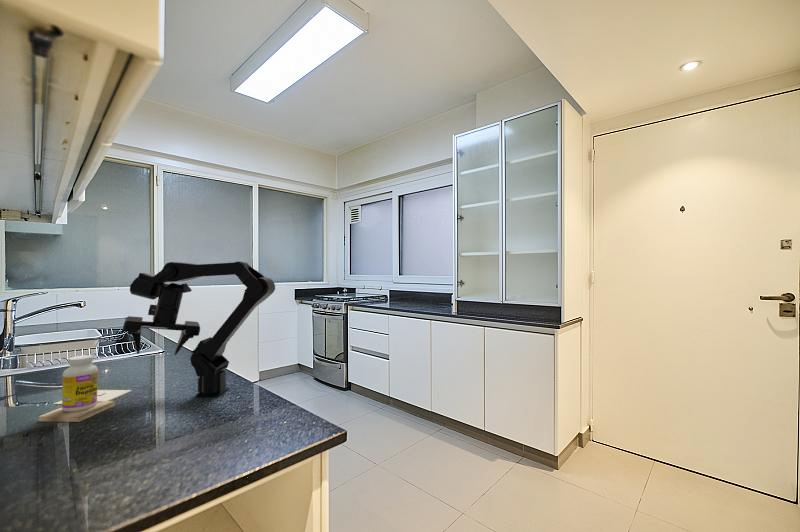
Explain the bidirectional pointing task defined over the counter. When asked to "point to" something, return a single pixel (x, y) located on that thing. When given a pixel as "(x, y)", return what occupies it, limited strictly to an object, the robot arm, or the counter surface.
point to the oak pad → (76, 413)
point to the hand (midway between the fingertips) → (157, 353)
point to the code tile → (106, 395)
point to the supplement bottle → (79, 384)
